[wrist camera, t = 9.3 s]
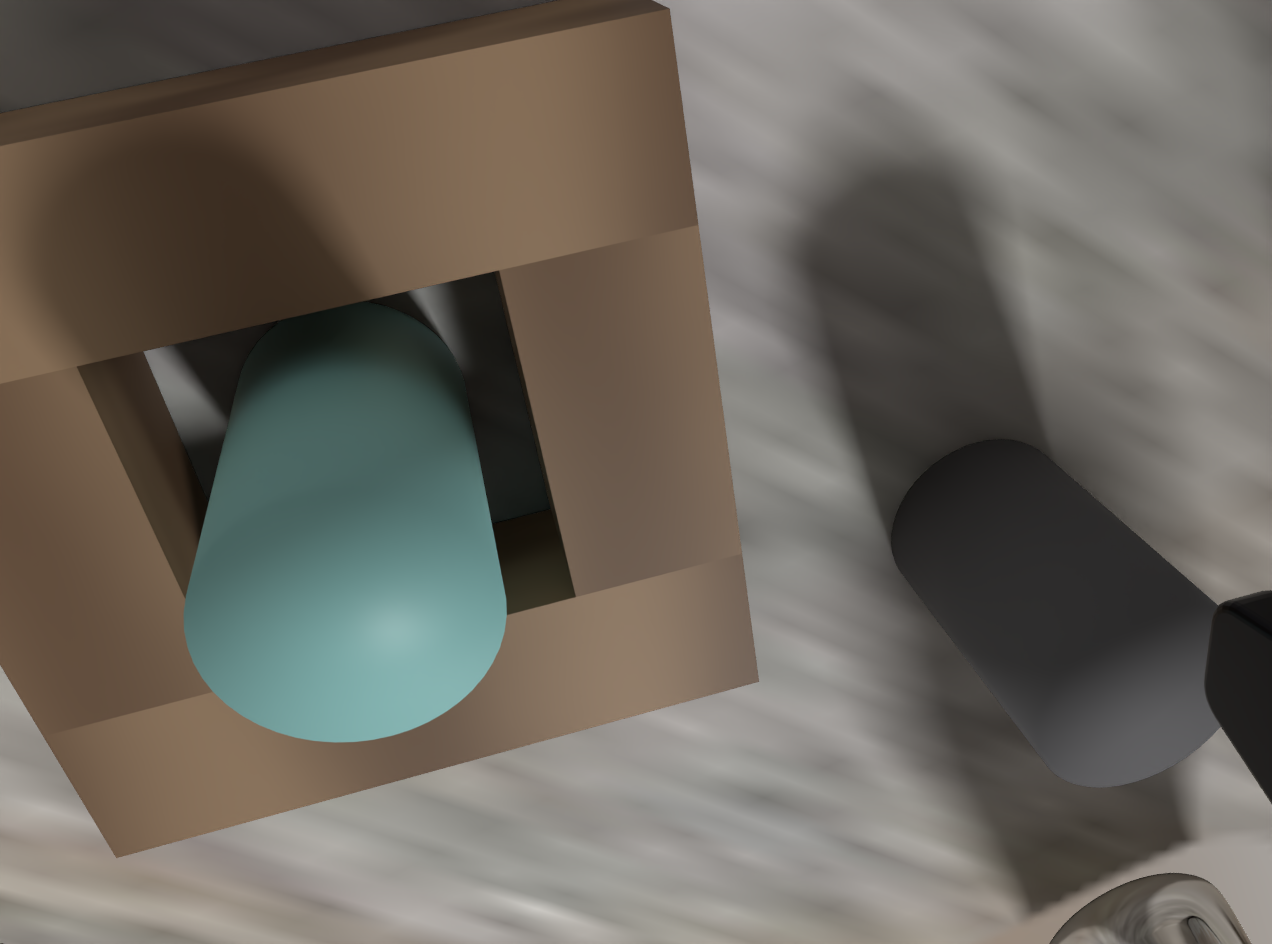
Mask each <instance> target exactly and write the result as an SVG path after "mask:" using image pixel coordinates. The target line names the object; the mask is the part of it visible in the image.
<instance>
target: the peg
mask: <svg viewBox="0 0 1272 944" xmlns="http://www.w3.org/2000/svg"><path fill="white" fill-rule="evenodd" d="M506 617H507V608H506V595H505V590H504V585H503V580H502V575H501V569H500V564H499V559H498V554H497V549H496V543H495V538H494V533H493V528H492V523H491V517H490V512H489V507H488V502H487V497H486V491H485V486H484V481H483V476H482V471H481V465H480V460H479V455H478V450H477V445H476V439H475V434H474V429H473V424H472V419H471V413H470V408H469V403H468V398H467V393H466V387H465V382H464V379H463V376H462V373H461V370H460V368H459V366H458V364H457V362H456V360H455V358H454V356H453V355H452V353H451V352H450V350H449V349H448V348H447V346H446V345H445V344H444V343H443V342H442V340H441V339H440V338H439V337H438V336H437V335H436V334H435V333H434V332H432V331H431V330H430V329H429V328H428V327H426V326H425V325H424V324H422V323H421V322H419V321H418V320H416V319H414V318H413V317H411V316H409V315H407V314H405V313H403V312H401V311H398V310H396V309H393V308H390V307H387V306H384V305H379V304H374V303H369V302H358V303H353V304H349V305H344V306H340V307H336V308H331V309H327V310H322V311H318V312H314V313H309V314H305V315H300V316H296V317H292V318H287V319H284V320H282V321H281V322H279V323H278V324H276V325H275V326H274V327H273V328H271V329H270V330H269V331H268V332H267V333H266V334H265V335H264V336H263V337H262V338H261V339H260V340H259V341H258V342H257V344H256V345H255V347H254V348H253V349H252V351H251V352H250V354H249V356H248V358H247V360H246V362H245V364H244V366H243V368H242V371H241V375H240V378H239V381H238V385H237V389H236V393H235V397H234V401H233V406H232V410H231V414H230V418H229V422H228V426H227V430H226V434H225V438H224V442H223V446H222V451H221V455H220V459H219V463H218V467H217V471H216V475H215V479H214V483H213V487H212V491H211V496H210V500H209V504H208V508H207V512H206V516H205V520H204V524H203V528H202V532H201V536H200V541H199V545H198V549H197V553H196V557H195V561H194V565H193V569H192V573H191V577H190V581H189V586H188V590H187V594H186V599H185V606H184V633H185V638H186V642H187V647H188V650H189V653H190V655H191V658H192V660H193V663H194V665H195V667H196V668H197V670H198V672H199V673H200V675H201V677H202V679H203V680H204V681H205V682H206V684H207V685H208V686H209V687H210V689H211V690H212V691H213V692H214V693H215V694H216V695H217V696H218V697H219V698H220V699H221V700H222V701H223V702H224V703H225V704H226V705H228V706H229V707H230V708H232V709H233V710H235V711H236V712H237V713H239V714H240V715H242V716H243V717H245V718H247V719H249V720H251V721H252V722H254V723H256V724H258V725H260V726H263V727H265V728H267V729H270V730H272V731H275V732H278V733H281V734H285V735H288V736H292V737H295V738H301V739H306V740H312V741H322V742H359V741H367V740H375V739H379V738H384V737H388V736H393V735H396V734H399V733H402V732H405V731H408V730H411V729H414V728H416V727H418V726H421V725H423V724H425V723H427V722H429V721H431V720H433V719H435V718H436V717H438V716H440V715H442V714H443V713H445V712H446V711H448V710H449V709H451V708H452V707H453V706H455V705H456V704H457V703H459V702H460V701H461V700H462V699H463V698H464V697H466V696H467V695H468V694H469V693H470V692H471V691H472V690H473V689H474V688H475V687H476V685H477V684H478V683H479V682H480V681H481V680H482V678H483V677H484V676H485V674H486V673H487V671H488V670H489V668H490V666H491V665H492V663H493V661H494V659H495V657H496V655H497V653H498V651H499V649H500V646H501V642H502V639H503V636H504V632H505V625H506Z"/></svg>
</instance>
